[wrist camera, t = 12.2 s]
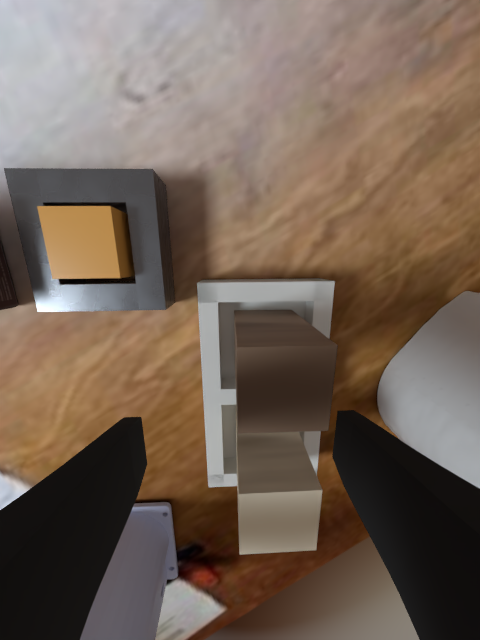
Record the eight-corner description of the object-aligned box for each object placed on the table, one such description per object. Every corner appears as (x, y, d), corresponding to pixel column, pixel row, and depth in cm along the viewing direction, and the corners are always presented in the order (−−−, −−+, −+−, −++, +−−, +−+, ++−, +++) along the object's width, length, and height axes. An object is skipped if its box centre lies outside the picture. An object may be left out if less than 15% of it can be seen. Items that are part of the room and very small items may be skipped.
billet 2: (284, 445, 19) (316, 549, 12) (236, 447, 18) (239, 554, 12) (286, 402, 18) (322, 490, 11) (235, 403, 17) (238, 494, 11)
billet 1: (288, 362, 17) (328, 430, 10) (234, 363, 17) (237, 433, 10) (291, 309, 16) (337, 345, 9) (234, 310, 16) (237, 347, 9)
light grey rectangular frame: (305, 455, 20) (316, 482, 18) (211, 459, 20) (208, 487, 17) (319, 278, 16) (334, 281, 14) (202, 279, 16) (197, 282, 14)
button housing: (175, 302, 16) (165, 309, 14) (66, 304, 16) (37, 311, 14) (165, 184, 14) (152, 169, 12) (42, 184, 14) (4, 168, 12)
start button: (141, 275, 15) (120, 278, 12) (86, 275, 15) (52, 278, 12) (134, 217, 14) (110, 206, 11) (76, 217, 14) (36, 205, 11)
